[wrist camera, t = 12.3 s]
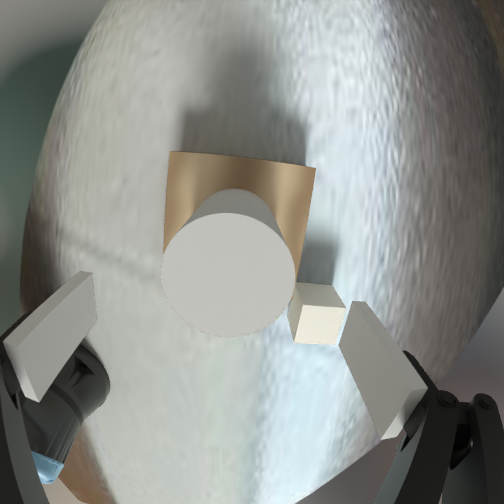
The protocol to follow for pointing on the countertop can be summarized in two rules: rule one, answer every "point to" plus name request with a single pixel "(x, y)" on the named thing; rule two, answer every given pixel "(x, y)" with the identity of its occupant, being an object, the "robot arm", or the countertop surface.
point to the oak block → (240, 177)
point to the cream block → (315, 314)
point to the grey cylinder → (229, 266)
